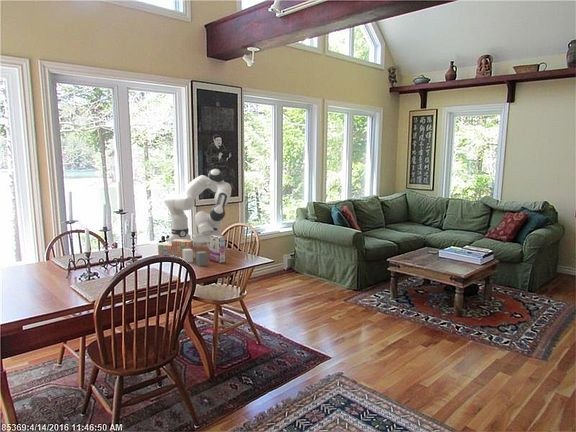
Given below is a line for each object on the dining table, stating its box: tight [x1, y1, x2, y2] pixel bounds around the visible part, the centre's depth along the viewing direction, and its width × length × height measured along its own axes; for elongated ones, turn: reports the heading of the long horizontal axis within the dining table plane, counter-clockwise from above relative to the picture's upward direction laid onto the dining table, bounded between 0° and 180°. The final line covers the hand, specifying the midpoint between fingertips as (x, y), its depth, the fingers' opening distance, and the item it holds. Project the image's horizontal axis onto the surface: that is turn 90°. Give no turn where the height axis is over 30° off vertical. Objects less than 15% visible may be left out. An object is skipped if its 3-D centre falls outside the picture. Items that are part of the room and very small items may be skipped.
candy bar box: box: [209, 235, 226, 264], centre depth 261 cm, size 11×5×16 cm, turn 45°
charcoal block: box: [195, 250, 208, 267], centre depth 252 cm, size 5×5×8 cm
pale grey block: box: [182, 248, 194, 264], centre depth 259 cm, size 5×5×8 cm
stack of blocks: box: [157, 239, 194, 258], centre depth 267 cm, size 21×6×12 cm, turn 85°
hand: (211, 249), depth 269 cm, fingers closed
